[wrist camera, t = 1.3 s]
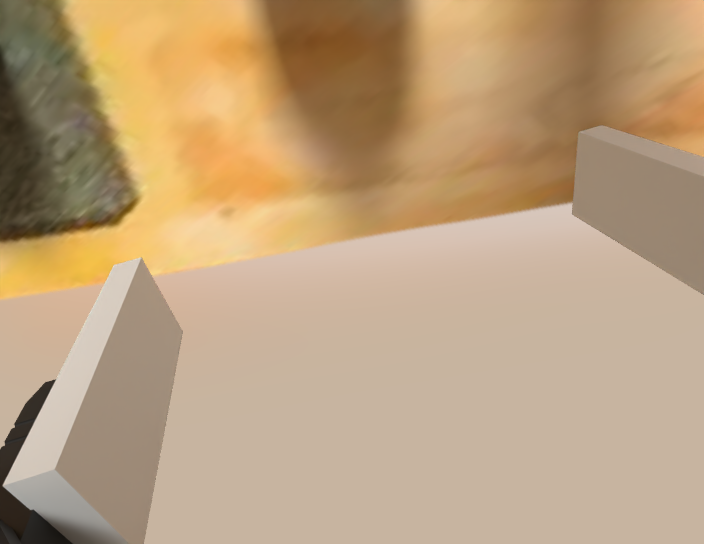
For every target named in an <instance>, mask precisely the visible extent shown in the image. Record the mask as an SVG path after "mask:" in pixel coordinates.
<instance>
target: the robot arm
mask: <svg viewBox="0 0 704 544" xmlns="http://www.w3.org/2000/svg"><path fill="white" fill-rule="evenodd" d="M572 209H573V210H572V214H573V215H574V216H576V217H577V218H579V219H581V220H582V221H584V222H586V223H587V224H589V225H591V226H592V227H594V228H595V229H597V230H599V231H600V232H602V233H604V234H605V235H607V236H608V237H610V238H612V239H613V240H615V241H617V242H618V243H620V244H621V245H623V246H625V247H626V248H628V249H630V250H631V251H633V252H635V253H636V254H638V255H639V256H641V257H643V258H644V259H646V260H648V261H650V262H651V263H653V264H654V265H656V266H657V267H659V268H661V269H662V270H664V271H666V272H667V273H669V274H671V275H672V276H674V277H675V278H677V279H679V280H680V281H682V282H684V283H685V284H687V285H688V286H690V287H692V288H693V289H695V290H697V291H698V292H700V293H701V294H703V295H704V157H702V156H699V155H696V154H692V153H689V152H686V151H683V150H680V149H676V148H673V147H670V146H667V145H664V144H661V143H657V142H654V141H651V140H648V139H645V138H641V137H638V136H635V135H632V134H629V133H626V132H622V131H619V130H616V129H613V128H610V127H606V126H603V125H600V126H597V127H593V128H590V129H586V130H583V131H579V132H578V142H577V155H576V168H575V182H574V195H573V208H572ZM182 334H183V331H182V329H181V327H180V326H179V324H178V322H177V320H176V319H175V317H174V315H173V313H172V311H171V310H170V308H169V306H168V304H167V302H166V300H165V299H164V297H163V295H162V294H161V291H160V290H159V288H158V286H157V284H156V283H155V281H154V279H153V277H152V275H151V274H150V272H149V270H148V268H147V266H146V265H145V263H144V261H143V259H142V257H141V258H137V259H134V260H130V261H127V262H124V263H120V264H117V265H114V266H113V268H112V270H111V272H110V274H109V276H108V278H107V280H106V282H105V284H104V286H103V288H102V290H101V292H100V294H99V296H98V298H97V300H96V302H95V304H94V306H93V308H92V310H91V312H90V314H89V315H88V318H87V319H86V322H85V324H84V325H83V327H82V329H81V331H80V333H79V335H78V338H77V339H76V341H75V343H74V345H73V347H72V349H71V351H70V353H69V355H68V357H67V359H66V361H65V363H64V365H63V367H62V369H61V371H60V373H59V375H58V377H57V379H56V380H52V381H49V382H45V383H44V384H43V385H42V387H41V388H40V389H39V390H38V391H37V392H36V393H35V394H34V395H33V397H31V398H30V399H29V401H28V402H27V403H26V404H25V406H24V408H23V409H22V411H21V413H20V415H19V417H18V418H17V420H16V422H15V428H13V429H11V431H10V433H9V435H8V436H7V438H6V440H5V446H3V447H1V449H0V544H144V539H145V534H146V529H147V523H148V518H149V512H150V507H151V502H152V496H153V491H154V485H155V480H156V474H157V469H158V464H159V458H160V453H161V447H162V442H163V436H164V431H165V426H166V420H167V415H168V409H169V404H170V398H171V393H172V388H173V382H174V376H175V371H176V366H177V361H178V355H179V349H180V344H181V339H182Z"/></svg>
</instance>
